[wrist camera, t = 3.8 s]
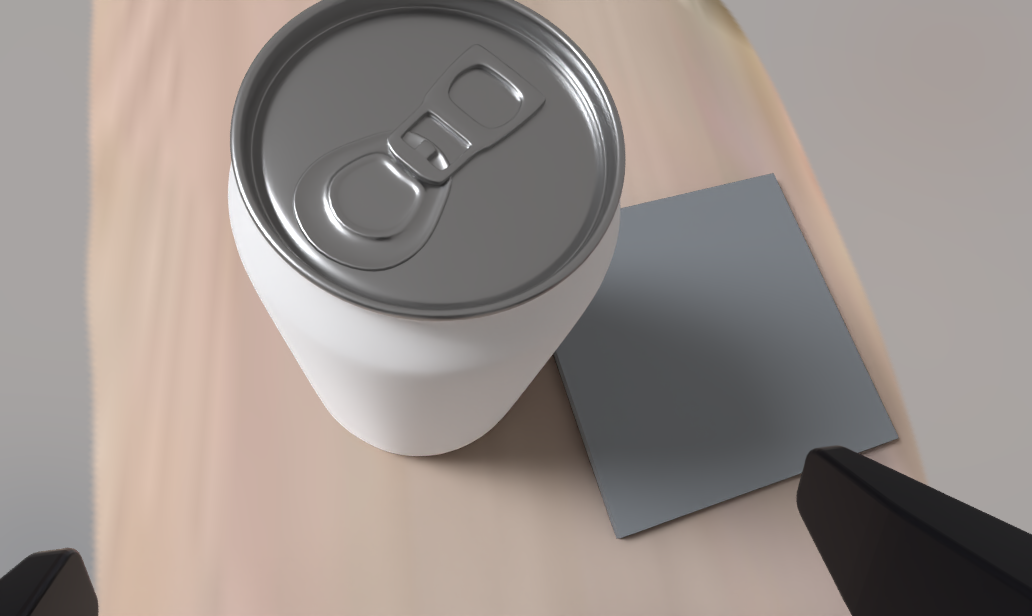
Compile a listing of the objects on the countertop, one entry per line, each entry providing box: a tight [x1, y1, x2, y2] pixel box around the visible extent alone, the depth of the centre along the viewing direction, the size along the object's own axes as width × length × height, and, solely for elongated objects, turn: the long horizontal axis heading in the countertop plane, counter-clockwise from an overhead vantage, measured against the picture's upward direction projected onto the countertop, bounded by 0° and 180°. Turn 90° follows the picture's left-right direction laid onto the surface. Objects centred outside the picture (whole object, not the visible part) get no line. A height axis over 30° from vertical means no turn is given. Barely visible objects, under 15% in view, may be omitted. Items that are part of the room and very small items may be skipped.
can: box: [228, 0, 625, 456], centre depth 15 cm, size 6×6×12 cm
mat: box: [553, 173, 899, 538], centre depth 22 cm, size 10×10×1 cm
